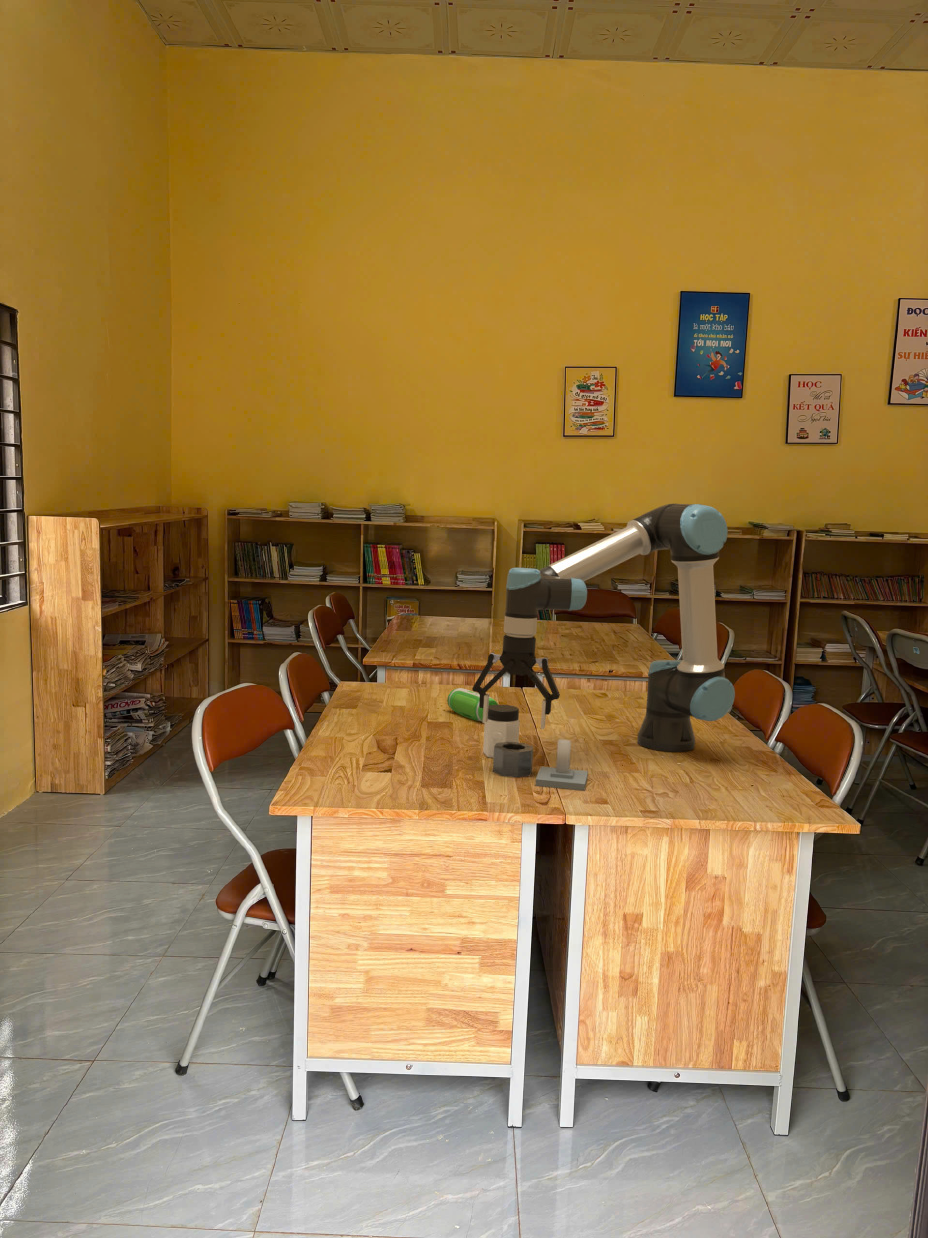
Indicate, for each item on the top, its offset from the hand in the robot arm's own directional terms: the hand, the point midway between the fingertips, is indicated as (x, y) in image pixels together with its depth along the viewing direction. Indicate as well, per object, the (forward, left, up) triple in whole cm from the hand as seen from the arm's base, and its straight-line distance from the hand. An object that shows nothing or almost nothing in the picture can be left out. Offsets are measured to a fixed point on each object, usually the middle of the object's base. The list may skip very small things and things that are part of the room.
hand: (513, 725), depth 229 cm
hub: (0, 0, -11) cm, 11 cm away
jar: (+5, -14, -11) cm, 19 cm away
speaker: (+19, -53, -12) cm, 58 cm away
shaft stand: (-12, +4, -11) cm, 17 cm away
